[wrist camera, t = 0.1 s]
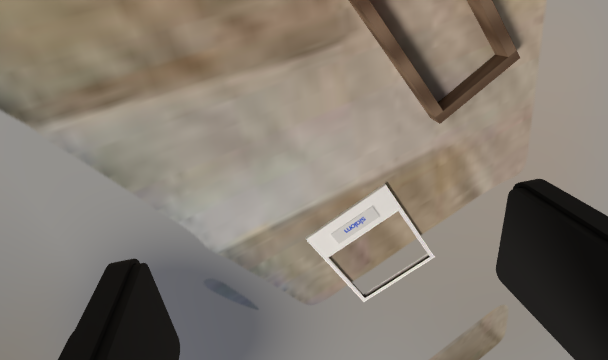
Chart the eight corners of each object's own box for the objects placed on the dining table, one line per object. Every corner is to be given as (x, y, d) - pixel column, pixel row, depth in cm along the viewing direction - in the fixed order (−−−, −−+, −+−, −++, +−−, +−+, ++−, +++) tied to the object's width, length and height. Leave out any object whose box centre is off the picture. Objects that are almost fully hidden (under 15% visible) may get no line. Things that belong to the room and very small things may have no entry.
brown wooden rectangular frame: (327, -30, 39) (333, -32, 37) (418, -120, 37) (429, -127, 34) (430, 118, 49) (440, 123, 47) (506, 55, 47) (520, 57, 45)
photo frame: (386, 185, 52) (435, 257, 60) (383, 182, 53) (432, 253, 61) (306, 240, 54) (364, 303, 62) (304, 236, 55) (362, 298, 63)
